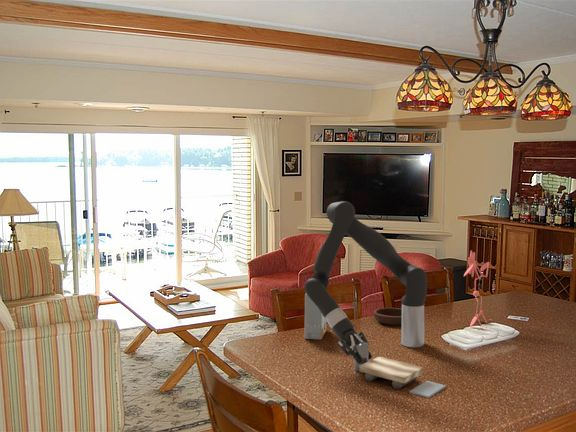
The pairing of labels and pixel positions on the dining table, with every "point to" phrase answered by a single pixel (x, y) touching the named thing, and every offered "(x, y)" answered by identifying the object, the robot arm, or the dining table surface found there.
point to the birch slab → (391, 371)
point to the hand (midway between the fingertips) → (365, 360)
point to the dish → (389, 315)
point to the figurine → (471, 269)
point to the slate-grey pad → (427, 389)
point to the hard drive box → (313, 320)
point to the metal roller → (362, 353)
